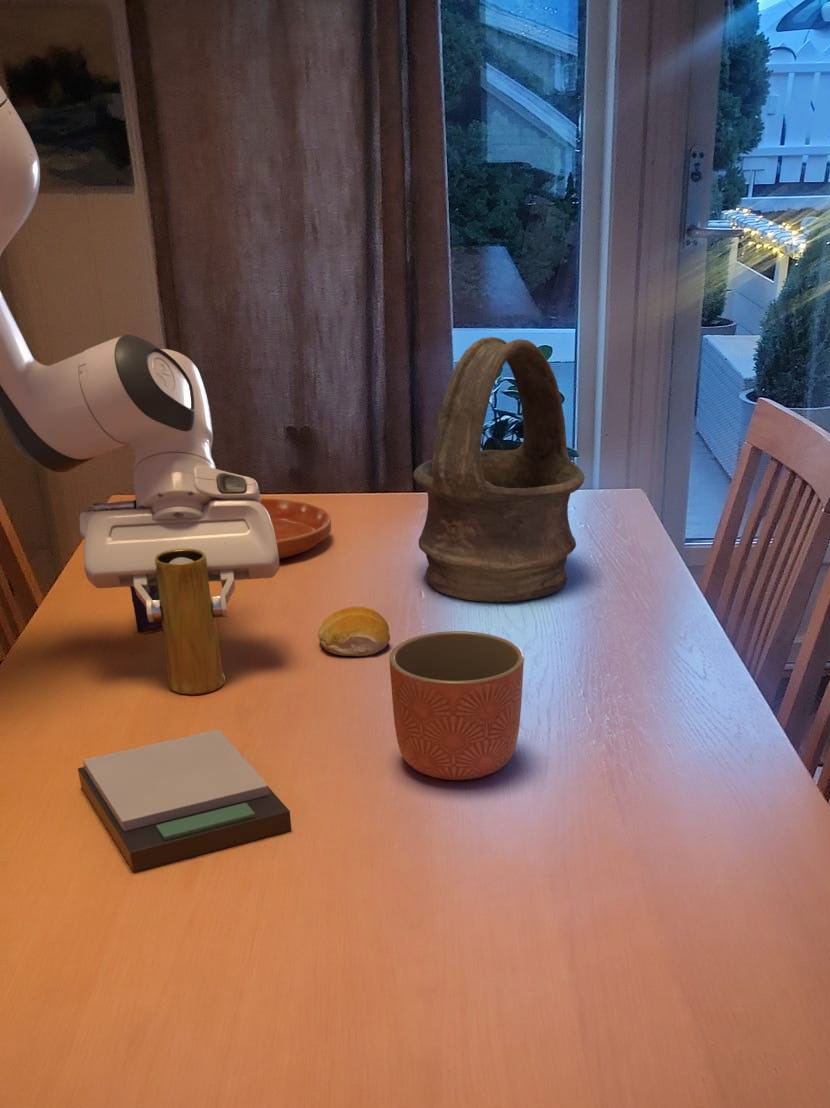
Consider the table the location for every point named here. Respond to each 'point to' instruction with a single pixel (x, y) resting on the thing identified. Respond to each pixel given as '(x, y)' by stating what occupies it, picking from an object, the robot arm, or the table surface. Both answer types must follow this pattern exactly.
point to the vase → (188, 623)
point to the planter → (457, 702)
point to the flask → (145, 611)
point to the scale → (181, 799)
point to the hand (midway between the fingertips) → (188, 617)
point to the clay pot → (499, 484)
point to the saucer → (297, 525)
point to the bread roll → (354, 632)
